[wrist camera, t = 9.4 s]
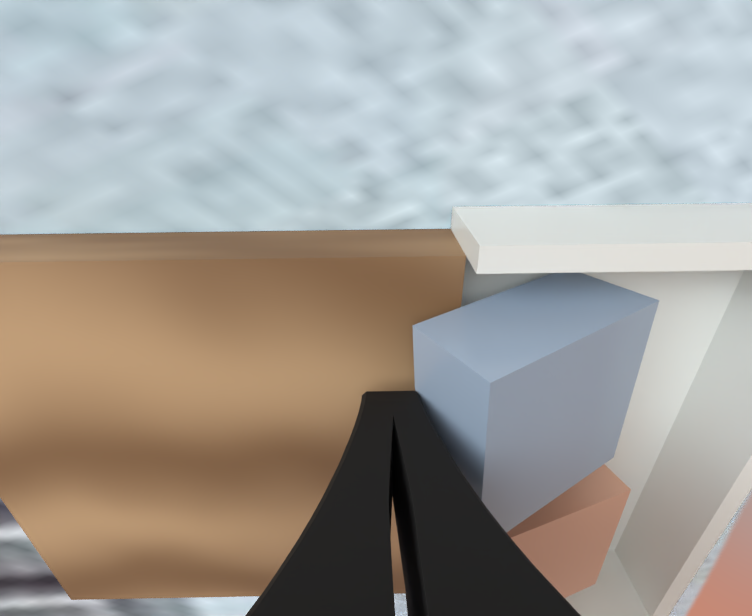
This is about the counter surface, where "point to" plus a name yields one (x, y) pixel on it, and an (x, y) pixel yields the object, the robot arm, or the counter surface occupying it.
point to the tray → (650, 370)
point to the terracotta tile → (574, 531)
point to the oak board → (197, 392)
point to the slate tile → (533, 385)
